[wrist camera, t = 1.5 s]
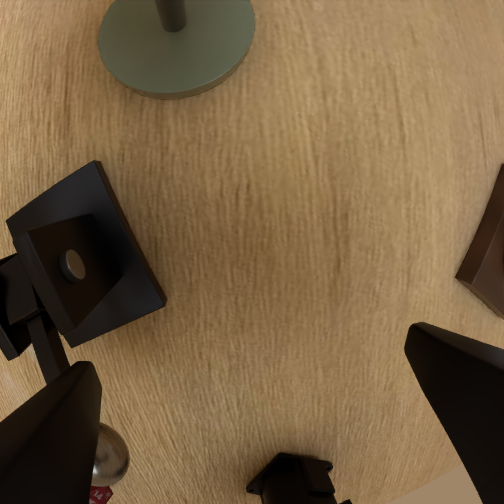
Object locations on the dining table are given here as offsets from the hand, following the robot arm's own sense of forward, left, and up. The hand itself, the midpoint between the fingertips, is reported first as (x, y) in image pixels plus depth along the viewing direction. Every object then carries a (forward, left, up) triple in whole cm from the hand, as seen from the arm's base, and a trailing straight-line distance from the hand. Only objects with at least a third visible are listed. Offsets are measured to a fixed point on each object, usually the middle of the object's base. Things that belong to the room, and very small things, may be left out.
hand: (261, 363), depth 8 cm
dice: (-27, +1, -13) cm, 29 cm away
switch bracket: (-5, +9, -13) cm, 16 cm away
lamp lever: (-7, +5, -5) cm, 10 cm away
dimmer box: (+13, -22, -13) cm, 29 cm away
